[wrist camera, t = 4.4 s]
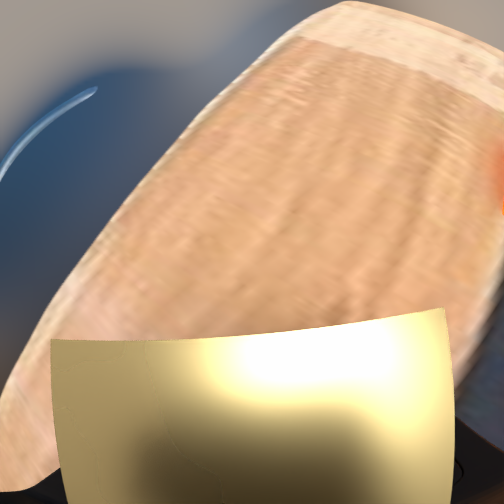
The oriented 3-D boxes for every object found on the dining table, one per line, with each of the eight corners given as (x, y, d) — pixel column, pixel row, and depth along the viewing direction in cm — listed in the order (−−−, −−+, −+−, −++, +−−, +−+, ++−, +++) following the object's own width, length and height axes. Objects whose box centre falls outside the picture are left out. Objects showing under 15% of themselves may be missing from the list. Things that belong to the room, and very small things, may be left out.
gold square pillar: (332, 432, 13) (423, 612, 1) (248, 439, 13) (105, 606, 1) (324, 332, 14) (420, 207, 3) (241, 340, 15) (57, 254, 3)
